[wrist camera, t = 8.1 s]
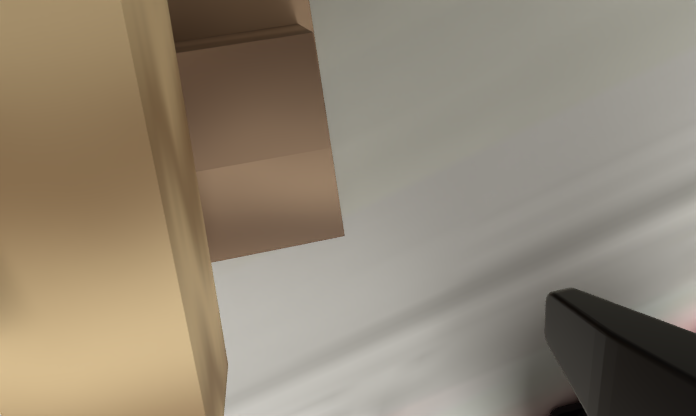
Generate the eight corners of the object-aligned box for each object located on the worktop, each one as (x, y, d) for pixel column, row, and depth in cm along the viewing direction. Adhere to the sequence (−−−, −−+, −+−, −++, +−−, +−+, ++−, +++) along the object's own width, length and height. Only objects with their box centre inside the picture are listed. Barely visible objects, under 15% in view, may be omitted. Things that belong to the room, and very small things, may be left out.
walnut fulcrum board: (340, 225, 21) (370, 305, 15) (58, 281, 19) (-20, 390, 14) (280, -167, 15) (293, -266, 9) (-134, -123, 13) (-401, -208, 8)
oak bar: (228, 364, 15) (218, 478, 12) (96, 382, 14) (43, 508, 11) (116, -309, 9) (10, -535, 5) (-133, -327, 8) (-458, -598, 4)
